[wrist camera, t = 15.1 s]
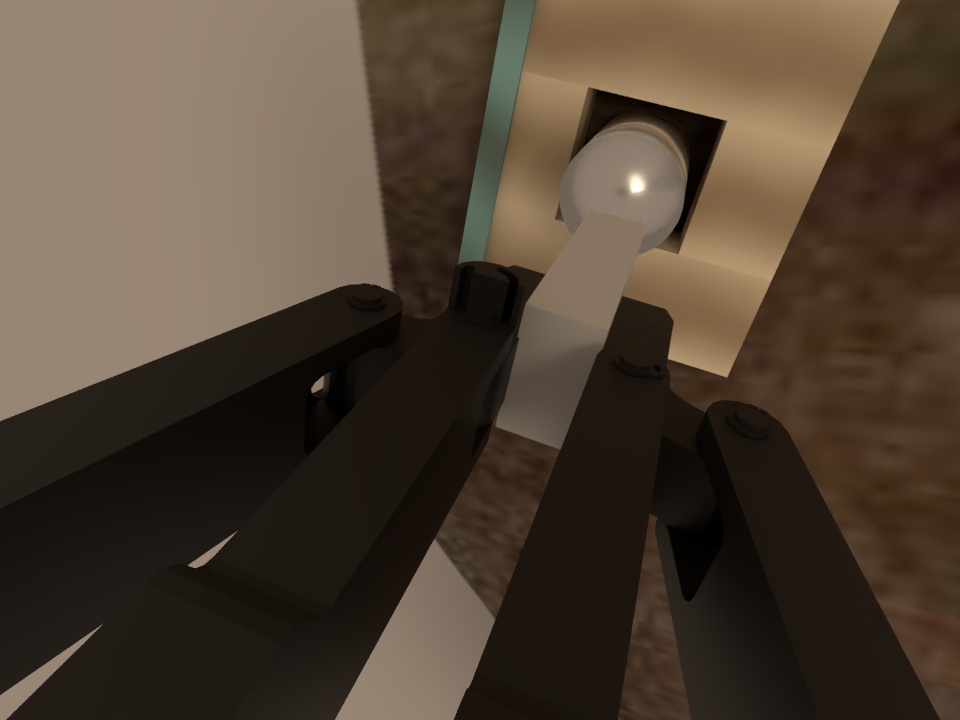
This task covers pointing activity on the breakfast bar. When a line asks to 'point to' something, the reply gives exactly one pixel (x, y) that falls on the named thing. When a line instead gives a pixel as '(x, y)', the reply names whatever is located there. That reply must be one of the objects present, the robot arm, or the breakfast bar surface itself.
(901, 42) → the breakfast bar surface
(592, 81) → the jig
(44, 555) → the robot arm
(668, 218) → the grey metal cylinder
